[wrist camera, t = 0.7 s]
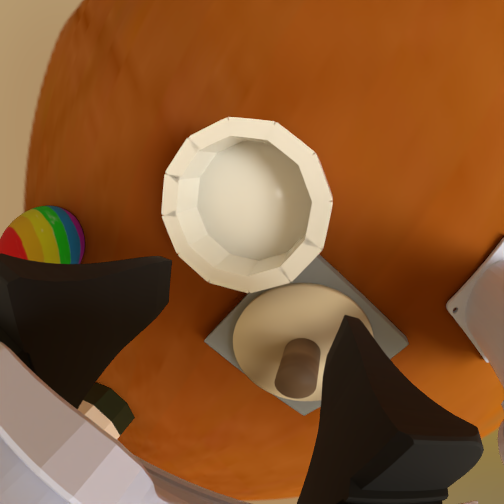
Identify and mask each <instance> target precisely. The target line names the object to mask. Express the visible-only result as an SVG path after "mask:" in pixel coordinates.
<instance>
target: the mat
mask: <svg viewBox="0 0 504 504" xmlns="http://www.w3.org/2000/svg"><path fill="white" fill-rule="evenodd" d="M290 283H314V284H320V285H324V286H328V287H331V288H333V289H336V290H338V291H340V292H342V293H344V294H345V295H347V296H349V297H350V298H351V299H352V300H354V301H355V302H356V303H357V304H358V305H359V306H360V307H361V308H362V310H363V311H364V313H365V314H366V315H367V317H368V319H369V322H370V324H371V327H372V331H373V336H374V339H375V340H376V342H377V343H378V345H379V346H380V347H381V349H382V350H383V351H384V353H385V354H386V355H387V356H388V358H389V359H391V358H392V357H393V356H395V355H396V354H397V353H399V352H400V351H401V350H402V349H404V348H405V347H406V346H407V345H408V344H409V343H408V340H407V337H406V336H405V335H404V334H403V333H402V332H401V331H400V330H399V329H398V328H397V327H396V326H395V325H394V324H393V323H392V322H391V321H390V320H389V319H388V318H387V317H386V316H385V315H384V314H382V313H381V312H380V311H379V310H378V309H377V308H376V307H375V306H374V305H373V304H372V303H371V302H370V301H369V300H368V299H367V298H366V297H365V296H364V295H363V294H362V293H361V292H359V291H358V290H357V289H356V288H355V287H354V286H353V285H352V284H351V283H350V282H349V281H348V280H347V279H346V278H344V277H343V276H342V275H341V274H340V273H339V272H338V271H337V270H336V269H335V268H334V267H332V266H331V265H330V264H329V263H328V262H327V261H326V260H325V259H324V258H323V257H321V256H320V255H319V254H318V255H317V256H316V258H315V259H314V260H313V261H312V262H311V263H310V264H309V265H308V266H307V267H306V268H305V269H304V270H303V271H302V272H301V273H300V274H299V275H298V276H297V277H296V278H295V279H294V280H293V281H292V282H290ZM290 283H288V284H290ZM284 285H285V284H284ZM276 287H277V286H276ZM273 288H274V287H273ZM269 289H271V288H269ZM269 289H265V290H261V291H257V292H253V293H250V292H249V293H248V294H247V295H246V296H245V297H244V298H243V299H242V300H241V301H240V302H239V304H238V305H237V306H236V307H235V308H234V309H233V310H232V311H231V312H230V313H229V314H228V315H227V316H226V317H225V318H224V319H223V320H222V321H221V322H220V324H219V325H218V326H217V327H216V328H215V329H214V330H213V331H212V332H211V333H210V334H209V335H208V336H207V338H206V339H205V340H204V342H206V343H207V344H208V345H209V346H210V347H212V348H213V349H214V350H215V351H217V352H218V353H219V354H220V355H221V356H223V357H224V358H225V359H226V360H228V361H229V362H230V363H232V364H233V365H234V366H235V367H237V368H238V369H239V370H241V371H242V372H243V370H242V369H241V367H240V365H239V364H238V362H237V359H236V357H235V353H234V349H233V333H234V329H235V326H236V323H237V321H238V319H239V317H240V316H241V314H242V312H243V311H244V309H245V308H246V307H247V306H248V304H249V303H250V302H251V301H252V300H254V299H255V298H256V297H257V296H259V295H260V294H262V293H263V292H265V291H267V290H269ZM243 373H244V372H243ZM244 374H245V373H244ZM274 396H276V395H274ZM276 397H277V398H279V399H280V400H282V401H283V402H284V403H286V404H287V405H289V406H290V407H292V408H293V409H295V410H296V411H298V412H299V413H301V414H302V415H306V414H308V413H310V412H312V411H313V410H315V409H317V408H318V407H320V406H321V400H319V401H295V400H289V399H285V398H282V397H278V396H276Z"/></svg>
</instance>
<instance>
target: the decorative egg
mask: <svg viewBox="0 0 504 504" xmlns="http://www.w3.org/2000/svg"><path fill="white" fill-rule="evenodd" d="M84 250H85V239H84V234H83V230H82V228H81V225H80V223H79V221H78V220H77V219H76V217H75V216H74V215H73V214H71V213H70V212H68V211H67V210H65V209H63V208H60V207H56V206H40V207H36V208H33V209H31V210H28V211H26V212H25V213H23V214H21V215H20V216H19V217H17V218H16V219H15V220H14V221H13V222H12V223H11V224H10V225H9V226H8V227H7V229H6V230H5V231H4V233H3V235H2V237H1V239H0V253H3V254H6V255H9V256H13V257H17V258H21V259H26V260H31V261H37V262H45V263H57V264H80V262H81V260H82V257H83V254H84Z"/></svg>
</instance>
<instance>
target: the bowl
mask: <svg viewBox="0 0 504 504" xmlns="http://www.w3.org/2000/svg"><path fill="white" fill-rule="evenodd" d="M165 173H166V174H164V185H163V197H162V211H161V214H162V215H164V216H162V219H163V221H164V224H165V226H166V229H167V231H168V234H169V236H170V239H171V241H172V244H173V246H174V248H175V251H176V253H179V254H178V256H179V257H180V258H181V259H182V260H184V261H185V262H186V263H187V264H188V265H189V266H190V267H191V268H192V269H193V270H195V271H196V272H197V273H198V274H199V275H200V276H201V277H202V278H204V279H205V280H206V281H207V282H208V281H209V283H211V284H215V285H219V286H222V287H226V288H230V289H234V290H237V291H241V292H245V293H249V292H250V293H253V292H257V291H261V290H265V289H269V288H273V287H276V286H280V285H284V284H288V283H290V282H292V281H293V280H294V279H295V278H296V277H297V276H298V275H299V274H300V273H301V272H302V271H303V270H304V269H305V268H306V267H307V266H308V265H309V264H310V263H311V262H312V261H313V260H314V259H315V258H316V256H317V255H318V254H319V253H320V252H321V251H322V248H323V247H324V243H325V239H326V234H327V229H328V225H329V220H330V215H331V210H332V205H333V197H332V193H331V190H330V187H329V185H328V182H327V179H326V176H325V173H324V171H323V168H322V165H321V163H320V160H319V157H318V156H317V154H316V153H315V152H314V151H313V150H312V149H310V148H309V147H308V146H307V145H305V144H304V143H303V142H302V141H300V140H299V139H298V138H297V137H295V136H294V135H293V134H291V133H290V132H289V131H288V130H286V129H285V128H284V127H282V126H281V125H280V124H278V123H277V122H275V121H267V120H258V119H248V118H236V117H229V118H225V119H222V120H220V121H218V122H216V123H214V124H212V125H210V126H208V127H206V128H204V129H202V130H200V131H198V132H196V133H194V134H193V135H191V136H189V138H187V139H186V141H185V142H184V144H183V145H182V147H181V148H180V150H179V151H178V153H177V154H176V156H175V157H174V159H173V160H172V162H171V164H170V165H169V167H168V168H167V170H166V172H165Z"/></svg>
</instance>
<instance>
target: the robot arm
mask: <svg viewBox="0 0 504 504" xmlns="http://www.w3.org/2000/svg"><path fill="white" fill-rule="evenodd" d="M171 266H172V260H169V259H166V258H164V257H161V256H150V257H141V258H134V259H127V260H120V261H111V262H102V263H92V264H57V263H45V262H37V261H31V260H26V259H21V258H17V257H13V256H9V255H6V254H3V253H0V504H251V503H247V502H244V501H240V500H237V499H234V498H231V497H228V496H225V495H222V494H219V493H216V492H213V491H210V490H208V489H205V488H202V487H200V486H197V485H195V484H192V483H190V482H188V481H185V480H183V479H181V478H179V477H176V476H174V475H172V474H170V473H168V472H166V471H164V470H161V469H159V468H157V467H155V466H154V465H152V464H150V463H148V462H146V461H144V460H142V459H140V458H139V457H137V456H135V455H133V454H132V453H131V452H130V451H128V450H127V449H126V448H125V447H124V446H123V445H122V444H121V443H120V442H119V441H118V440H117V439H115V438H114V437H113V436H111V435H110V434H109V433H107V432H106V431H105V430H103V429H102V428H101V427H100V426H98V425H97V424H96V423H95V422H93V421H92V420H91V419H89V418H88V417H87V416H85V415H84V414H83V413H81V412H80V411H79V410H78V408H79V406H80V404H81V403H82V401H83V399H84V398H85V396H86V395H87V393H88V392H89V390H90V389H91V387H92V386H93V384H94V383H95V382H96V380H97V379H98V378H99V376H100V375H101V374H102V372H103V371H104V370H105V368H106V367H107V366H108V365H109V364H110V362H111V361H112V360H113V359H114V358H115V356H116V355H117V354H118V353H119V352H120V351H121V350H122V349H123V348H124V347H125V346H126V345H127V344H128V343H129V342H130V341H132V340H133V339H134V338H135V337H136V336H137V335H138V334H139V333H140V332H141V331H143V330H144V329H145V328H146V327H147V326H148V325H149V324H150V323H151V322H152V321H153V320H154V319H155V318H156V317H157V316H158V315H159V314H160V313H161V311H162V310H163V309H164V307H165V306H166V305H167V304H168V302H169V289H170V277H171ZM456 307H457V308H456ZM446 308H447V310H448V311H449V313H450V314H451V315H452V316H453V318H454V319H455V320H456V322H457V323H458V324H459V325H460V327H461V328H462V329H463V331H464V332H465V333H466V335H467V336H468V337H469V339H470V340H471V341H472V343H473V344H474V346H475V347H476V348H477V350H478V351H479V353H480V354H481V356H482V357H483V358H484V360H485V361H486V362H487V363H488V362H489V363H490V364H491V366H492V368H493V370H494V371H495V373H496V375H497V377H498V378H499V380H500V382H501V384H502V386H503V388H504V237H503V239H502V240H501V241H500V243H499V244H498V245H497V246H496V248H495V249H494V250H493V252H492V253H491V254H490V255H489V256H488V258H487V259H486V260H485V261H484V263H483V264H482V265H481V266H480V267H479V268H478V270H477V271H476V272H475V273H474V274H473V275H472V276H471V277H470V279H469V280H468V281H467V282H466V283H465V284H464V285H463V286H462V287H461V288H460V289H459V290H458V292H457V293H456V294H455V295H454V296H453V297H452V298H451V299H450V300H449V301H448V302H447V304H446ZM454 308H456V310H455V311H453V309H454ZM501 405H502V407H503V410H504V401H503V402H502V404H501ZM498 446H499V453H500V457H501V460H502V463H503V465H504V420H503V421H502V423H501V425H500V427H499V431H498ZM483 450H484V449H483V445H482V441H481V438H480V434H479V431H478V428H477V427H476V426H474V425H472V424H470V423H469V422H467V421H465V420H463V419H461V418H459V417H457V416H455V415H453V414H452V413H450V412H449V411H447V410H446V409H444V408H443V407H441V406H440V405H438V404H437V403H435V402H434V401H433V400H431V399H430V398H429V397H427V396H426V395H425V394H424V393H423V392H421V391H420V390H419V389H418V388H417V387H416V386H414V385H413V384H412V383H411V382H410V381H409V380H408V379H407V378H406V377H405V376H404V375H403V374H402V373H401V372H400V371H399V369H398V368H397V367H396V366H395V365H394V364H393V362H392V361H391V360H390V359H389V358H388V356H387V355H386V354H385V353H384V351H383V350H382V349H381V347H380V346H379V345H378V343H377V342H376V340H375V339H374V338H373V336H372V335H371V333H370V332H369V330H368V329H367V328H366V326H365V325H364V324H363V322H362V321H361V320H360V319H359V318H355V317H352V316H348V315H344V317H343V320H342V322H341V325H340V327H339V329H338V332H337V334H336V336H335V339H334V341H333V343H332V345H331V347H330V350H329V352H328V354H327V357H326V362H325V367H324V373H323V381H322V396H321V410H320V422H319V429H318V434H317V439H316V443H315V447H314V451H313V455H312V459H311V462H310V466H309V469H308V473H307V476H306V479H305V482H304V485H303V488H302V491H301V494H300V497H299V499H298V502H297V504H442V500H445V499H447V497H448V489H447V488H448V487H449V486H450V485H452V484H453V483H454V482H456V481H457V480H458V479H460V478H461V477H462V476H463V475H465V474H466V473H467V472H468V471H469V470H470V469H472V468H473V467H474V466H475V464H476V463H477V462H478V461H479V459H480V458H481V456H482V453H483ZM461 504H478V501H470V502H465V503H461Z"/></svg>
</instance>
